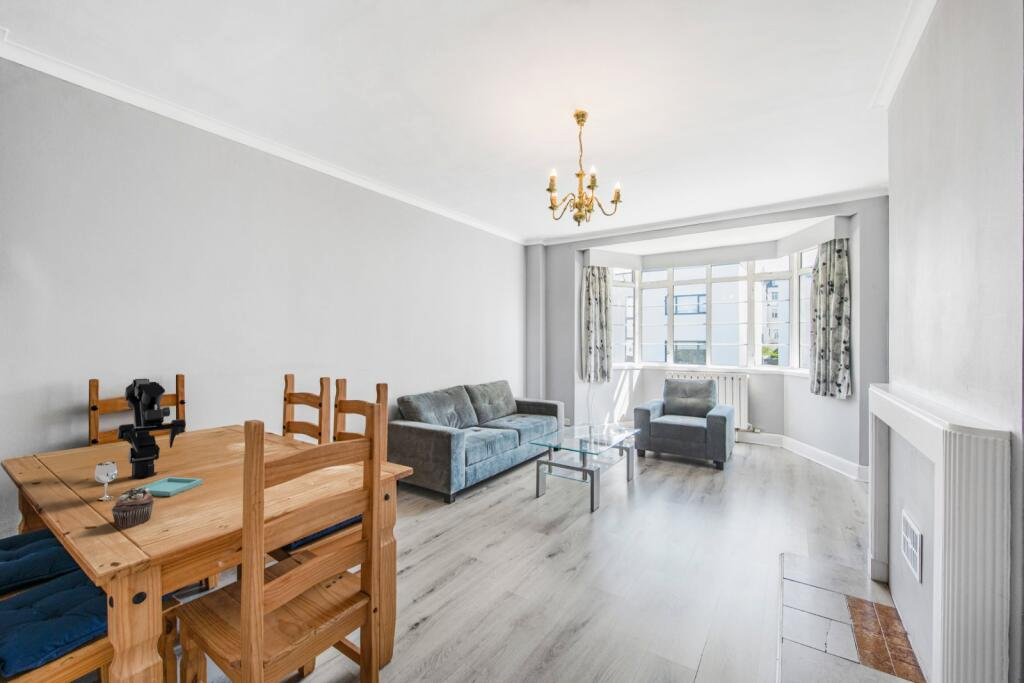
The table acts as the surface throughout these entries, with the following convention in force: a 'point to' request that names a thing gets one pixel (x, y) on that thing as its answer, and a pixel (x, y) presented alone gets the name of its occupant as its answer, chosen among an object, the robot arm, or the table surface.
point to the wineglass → (106, 474)
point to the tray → (171, 486)
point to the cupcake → (133, 508)
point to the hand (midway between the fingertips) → (154, 449)
